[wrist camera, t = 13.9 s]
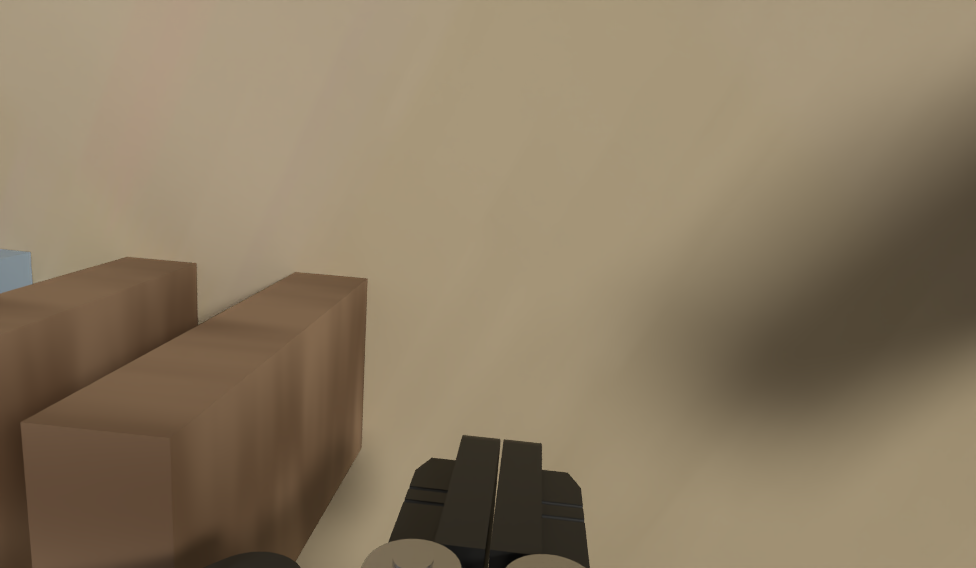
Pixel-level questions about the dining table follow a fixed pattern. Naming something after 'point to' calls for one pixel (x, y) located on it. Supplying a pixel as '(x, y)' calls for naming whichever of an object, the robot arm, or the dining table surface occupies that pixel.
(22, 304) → the tile
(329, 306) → the tile
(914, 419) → the dining table surface
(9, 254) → the tile
